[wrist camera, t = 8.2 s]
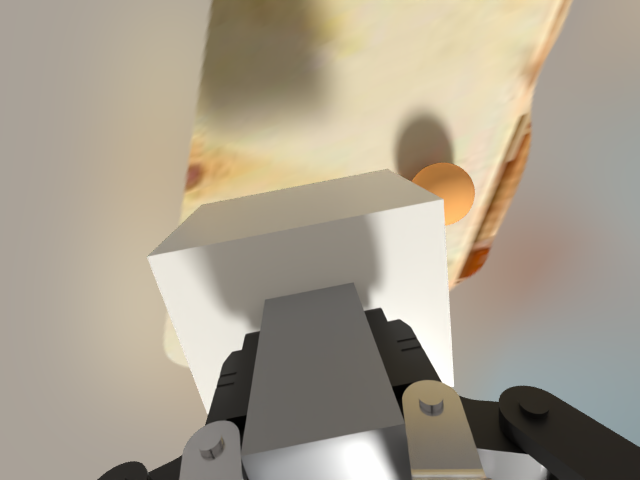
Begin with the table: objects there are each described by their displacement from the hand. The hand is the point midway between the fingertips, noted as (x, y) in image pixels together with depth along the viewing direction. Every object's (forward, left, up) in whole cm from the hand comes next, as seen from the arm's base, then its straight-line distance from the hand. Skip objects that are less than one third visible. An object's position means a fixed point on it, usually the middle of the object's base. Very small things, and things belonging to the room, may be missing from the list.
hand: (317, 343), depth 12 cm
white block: (0, 0, -8) cm, 8 cm away
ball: (0, +11, -16) cm, 20 cm away
